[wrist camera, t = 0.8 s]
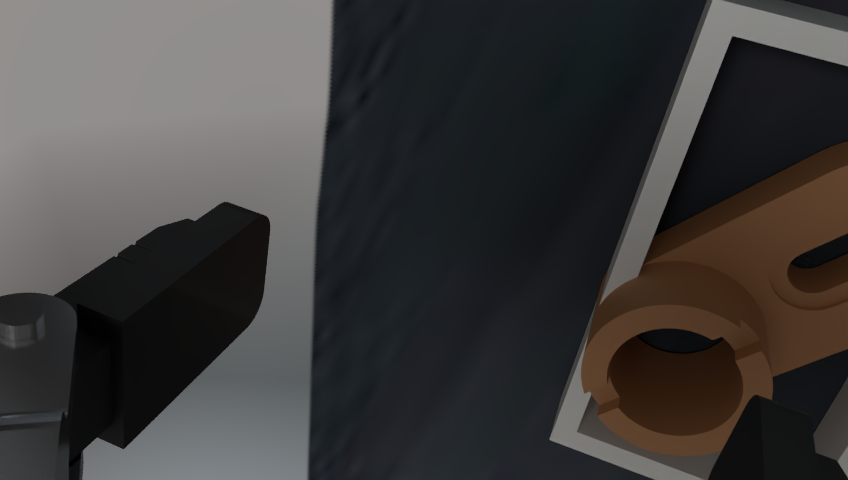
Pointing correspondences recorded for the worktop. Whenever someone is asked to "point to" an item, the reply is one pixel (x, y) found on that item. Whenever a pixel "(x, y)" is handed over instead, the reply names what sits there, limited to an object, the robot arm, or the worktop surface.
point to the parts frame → (721, 19)
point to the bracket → (724, 310)
